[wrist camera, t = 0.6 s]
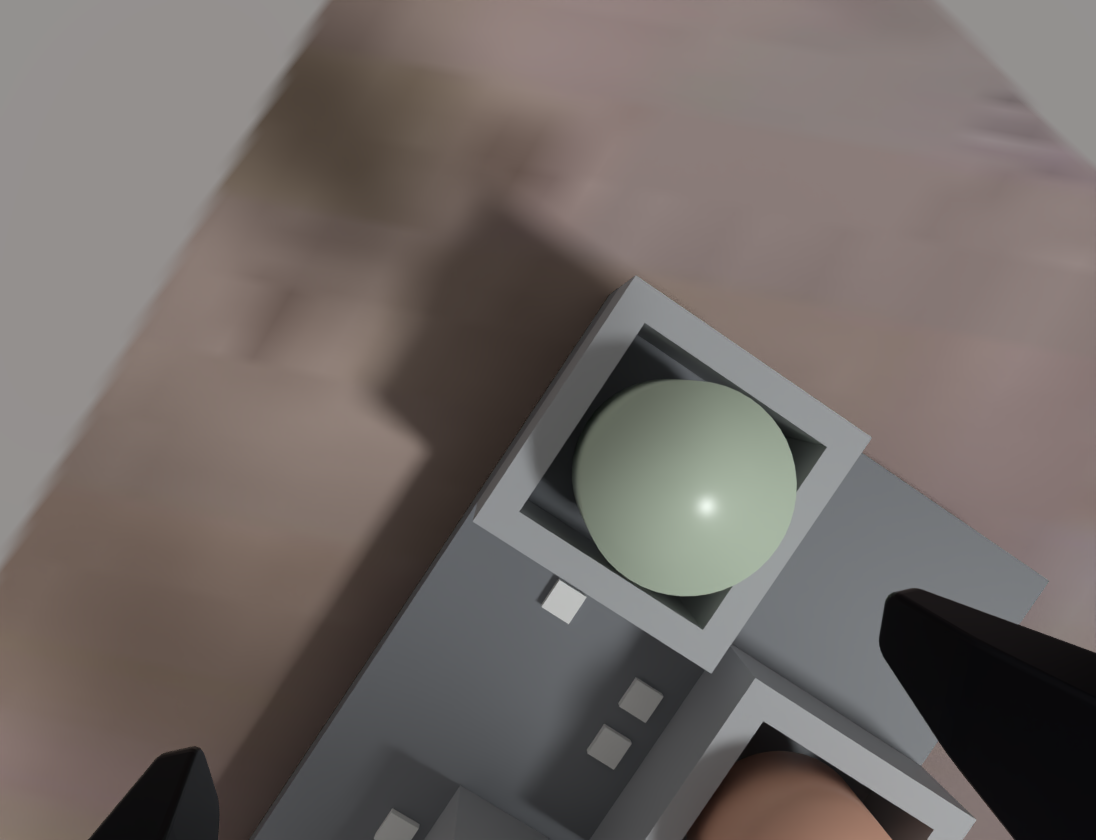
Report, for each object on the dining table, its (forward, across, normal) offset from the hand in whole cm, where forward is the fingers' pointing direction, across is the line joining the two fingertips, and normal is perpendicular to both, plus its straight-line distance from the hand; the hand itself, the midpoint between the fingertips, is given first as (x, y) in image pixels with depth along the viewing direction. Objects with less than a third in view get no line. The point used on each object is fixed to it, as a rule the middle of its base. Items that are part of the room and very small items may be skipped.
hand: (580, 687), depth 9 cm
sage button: (+8, -5, +2) cm, 10 cm away
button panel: (+9, -4, +10) cm, 15 cm away
